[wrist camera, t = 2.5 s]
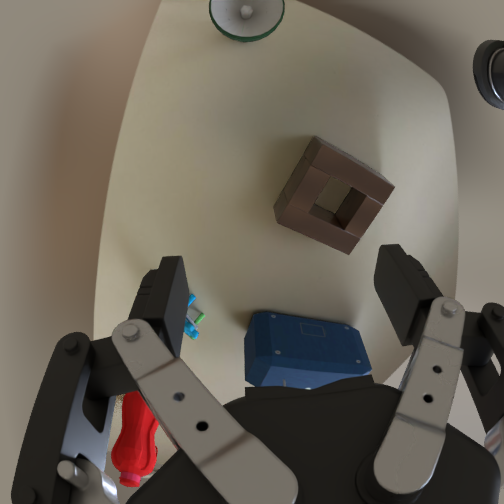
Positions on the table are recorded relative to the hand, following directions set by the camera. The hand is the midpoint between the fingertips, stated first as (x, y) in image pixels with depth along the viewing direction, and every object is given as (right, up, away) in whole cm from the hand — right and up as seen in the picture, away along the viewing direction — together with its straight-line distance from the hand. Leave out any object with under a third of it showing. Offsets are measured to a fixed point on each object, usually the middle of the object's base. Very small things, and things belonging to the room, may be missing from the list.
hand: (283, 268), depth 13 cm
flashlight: (-2, +27, +21) cm, 34 cm away
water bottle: (-27, -36, +60) cm, 75 cm away
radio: (+8, -14, +47) cm, 50 cm away
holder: (+10, +9, +32) cm, 35 cm away
